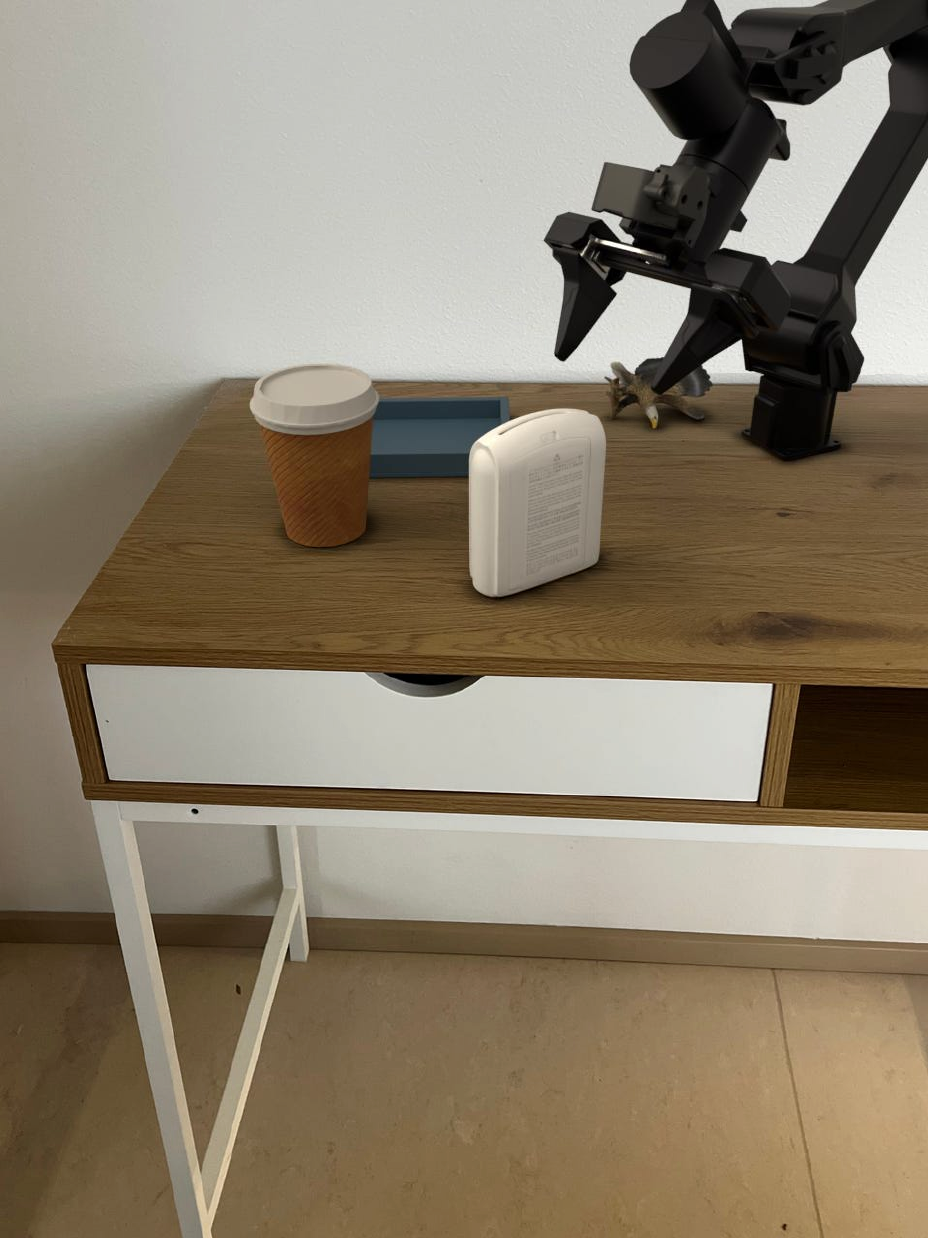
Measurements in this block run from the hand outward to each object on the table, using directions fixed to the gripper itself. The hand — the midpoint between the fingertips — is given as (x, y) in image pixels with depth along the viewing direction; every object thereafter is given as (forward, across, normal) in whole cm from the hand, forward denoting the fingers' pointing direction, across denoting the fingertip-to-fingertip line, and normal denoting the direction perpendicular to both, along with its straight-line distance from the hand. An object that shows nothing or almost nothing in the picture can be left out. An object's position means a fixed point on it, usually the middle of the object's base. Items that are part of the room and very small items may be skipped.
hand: (605, 374), depth 82 cm
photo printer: (+15, +1, +3) cm, 15 cm away
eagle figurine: (-4, -12, +24) cm, 28 cm away
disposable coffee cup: (+20, -16, -2) cm, 25 cm away
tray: (+10, -23, +9) cm, 26 cm away
